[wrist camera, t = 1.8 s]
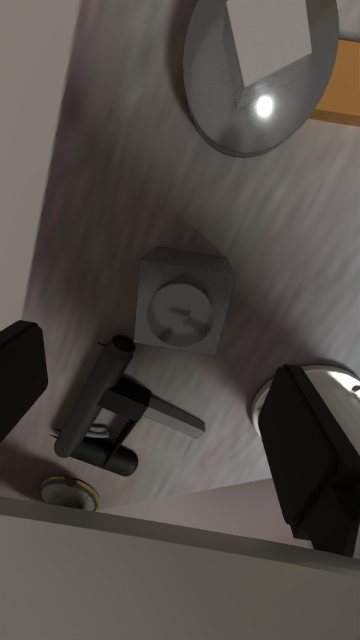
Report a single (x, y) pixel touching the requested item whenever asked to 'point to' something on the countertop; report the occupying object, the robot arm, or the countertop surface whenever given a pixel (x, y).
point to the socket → (183, 300)
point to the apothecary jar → (69, 493)
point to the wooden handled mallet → (267, 71)
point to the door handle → (121, 399)
